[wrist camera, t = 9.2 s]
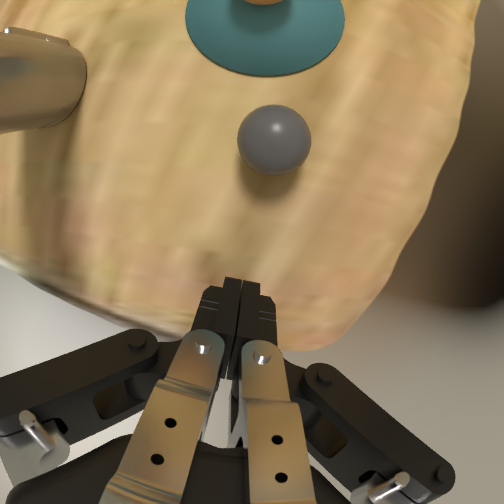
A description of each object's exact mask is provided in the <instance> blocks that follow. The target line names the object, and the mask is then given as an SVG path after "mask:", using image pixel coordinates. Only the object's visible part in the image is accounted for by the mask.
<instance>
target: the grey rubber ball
mask: <svg viewBox="0 0 504 504" xmlns="http://www.w3.org/2000/svg"><path fill="white" fill-rule="evenodd" d="M237 143H238V149H239V152H240V154H241V156H242V158H243V159H244V161H245V162H246V163H247V164H248V165H249V166H250V167H251V168H252V169H254V170H256V171H257V172H259V173H262V174H265V175H271V176H279V175H285V174H288V173H290V172H292V171H294V170H296V169H297V168H298V167H300V166H301V165H302V164H303V162H304V161H305V160H306V158H307V156H308V154H309V152H310V148H311V134H310V130H309V127H308V125H307V123H306V122H305V120H304V119H303V118H302V117H301V116H300V115H299V114H298V113H297V112H296V111H294V110H293V109H290V108H288V107H285V106H282V105H266V106H262V107H259V108H257V109H255V110H254V111H252V112H251V113H250V114H248V115H247V116H246V118H245V119H244V120H243V122H242V123H241V126H240V128H239V131H238V137H237Z"/></svg>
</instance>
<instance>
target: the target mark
mask: <svg viewBox="0 0 504 504" xmlns="http://www.w3.org/2000/svg"><path fill="white" fill-rule="evenodd" d="M185 18H186V26H187V29H188V33H189V35H190V37H191V39H192V41H193V42H194V43H195V45H196V46H197V47H198V48H199V50H200V51H201V52H202V53H203V54H204V55H206V56H207V57H208V58H210V59H211V60H212V61H214V62H216V63H217V64H219V65H221V66H223V67H226V68H228V69H231V70H234V71H237V72H240V73H245V74H250V75H259V76H275V75H284V74H290V73H294V72H297V71H301V70H304V69H306V68H308V67H311V66H313V65H314V64H316V63H318V62H320V61H321V60H322V59H324V58H325V57H326V56H327V55H328V54H329V53H330V52H331V51H332V50H333V49H334V48H335V46H336V45H337V43H338V42H339V40H340V38H341V36H342V33H343V29H344V21H345V18H344V10H343V6H342V3H341V1H340V0H283V1H281V2H278V3H275V4H270V5H257V4H252V3H249V2H246V1H244V0H188V3H187V7H186V15H185Z"/></svg>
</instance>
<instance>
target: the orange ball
mask: <svg viewBox="0 0 504 504" xmlns="http://www.w3.org/2000/svg"><path fill="white" fill-rule="evenodd" d="M244 1H246V2H249V3H252V4H257V5H270V4H275V3H278V2H281V1H283V0H244Z"/></svg>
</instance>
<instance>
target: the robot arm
mask: <svg viewBox="0 0 504 504" xmlns="http://www.w3.org/2000/svg"><path fill="white" fill-rule="evenodd" d="M85 80H86V64H85V60H84V57H83V55H82V54H81V52H80V51H78V50H77V49H75V48H73V47H71V46H69V43H68V40H65V39H62V38H58V37H55V36H51V35H47V34H43V33H39V32H35V31H30V30H26V29H21V28H16V27H8V28H6V29H5V30H4V31H3V32H0V134H4V133H9V132H15V131H21V130H27V129H34V128H43V127H49V126H53V125H56V124H58V123H60V122H62V121H63V120H64V119H65V118H66V117H68V116H69V115H70V113H71V112H72V111H73V109H74V108H75V106H76V105H77V103H78V101H79V99H80V97H81V94H82V92H83V89H84V85H85ZM241 284H242V288H241ZM228 362H229V364H228ZM227 367H228V371H227ZM226 371H227V379H229V380H232V388H231V392H230V396H229V432H228V435H229V436H228V445H227V448H217V447H214V446H212V445H209V444H207V443H204V442H203V438H204V434H205V430H206V427H207V423H208V419H209V415H210V411H211V408H212V404H213V400H214V396H215V393H216V391H217V390H218V387H219V382H220V378H223V379H224V378H225V375H226ZM142 410H144V411H143V413H142V415H141V417H140V419H139V422H138V424H137V426H136V428H135V431H134V433H133V434H128V435H124V436H120V437H118V438H115V439H113V440H111V441H109V442H107V443H105V444H103V445H102V446H100V447H98V448H96V449H94V450H92V451H91V452H88V453H86V454H84V455H82V456H80V457H78V458H76V459H74V460H72V461H70V462H68V463H66V464H64V465H62V466H59V465H60V464H62V463H63V462H65V461H66V459H67V458H68V456H69V452H70V447H69V445H72V444H74V443H76V442H78V441H80V440H83V439H85V438H87V437H89V436H92V435H94V434H96V433H98V432H100V431H102V430H104V429H106V428H108V427H110V426H112V425H114V424H116V423H118V422H120V421H122V420H124V419H126V418H128V417H130V416H132V415H134V414H136V413H138V412H139V411H142ZM307 451H308V452H309V453H310V454H311V455H312V456H313V457H314V458H315V459H316V460H317V461H318V462H319V463H320V464H321V465H322V466H323V467H324V468H325V469H326V470H327V471H328V472H329V473H330V474H331V475H332V476H333V477H335V478H336V479H337V480H338V481H339V482H340V483H341V484H342V485H343V486H344V487H346V488H347V489H348V490H349V491H350V492H351V493H352V494H351V499H350V500H351V501H349V500H347V499H346V498H345V497H344V496H343V495H342V494H341V493H340V492H339V491H338V490H337V489H336V488H335V487H334V486H333V485H332V484H331V483H330V482H329V481H328V480H327V479H326V478H325V477H324V476H323V475H322V474H321V473H320V472H319V471H318V470H316V469H315V468H314V467H313V466H311V465H310V464H309V458H308V452H307ZM0 456H1V459H2V462H3V464H4V467H5V469H6V471H7V473H8V476H9V478H10V480H11V482H12V484H13V486H14V488H13V489H12V490H11V491H10V492H9V494H8V496H7V500H6V504H427V503H429V502H431V501H433V500H435V499H436V498H438V497H440V496H442V495H444V494H446V493H447V492H449V491H450V490H451V489H452V487H453V485H454V483H455V471H454V469H453V467H452V466H451V464H450V463H449V462H447V461H446V460H445V459H444V458H442V457H441V456H440V455H438V454H437V453H436V452H435V451H433V450H432V449H431V448H430V447H428V446H427V445H426V444H424V443H423V442H422V441H421V440H420V439H419V438H417V437H416V436H415V435H414V434H412V433H411V432H410V431H409V430H407V429H406V428H405V427H404V426H403V425H401V424H400V423H399V422H398V421H396V420H395V419H394V418H393V417H392V416H390V415H389V414H388V413H387V412H386V411H385V410H383V409H382V408H381V407H380V406H379V405H378V404H376V403H375V402H374V401H373V400H372V399H371V398H369V397H368V396H367V395H366V394H365V393H363V392H362V391H361V390H360V389H359V388H358V387H356V386H355V385H354V384H353V383H352V382H351V381H350V380H349V379H347V378H346V377H345V376H344V375H343V374H342V373H341V372H339V371H338V370H337V369H336V368H334V367H333V366H331V365H328V364H324V363H315V364H312V365H310V366H309V367H308V368H307V369H304V368H302V367H299V366H296V365H294V364H292V363H290V362H288V361H287V360H285V359H284V358H283V355H282V352H281V351H280V349H279V348H278V346H277V326H276V307H275V304H274V302H273V300H272V299H271V297H268V296H263V295H260V283H256V282H251V281H246V280H243V283H242V280H241V279H235V278H230V277H226V276H225V280H224V284H223V288H221V287H216V286H212V285H211V286H210V287H208V288H207V289H206V290H204V292H203V295H202V298H201V301H200V304H199V307H198V310H197V313H196V316H195V319H194V322H193V325H192V328H191V331H190V332H188V333H187V334H186V335H185V336H184V337H183V339H181V340H178V341H174V342H158V341H157V339H156V337H155V336H154V335H153V334H152V333H150V332H148V331H146V330H143V329H129V330H126V331H124V332H121V333H119V334H116V335H114V336H111V337H108V338H106V339H103V340H101V341H98V342H96V343H93V344H90V345H88V346H85V347H83V348H80V349H77V350H75V351H72V352H70V353H67V354H64V355H61V356H59V357H56V358H53V359H51V360H48V361H45V362H43V363H40V364H37V365H34V366H31V367H29V368H26V369H23V370H20V371H17V372H15V373H12V374H9V375H6V376H4V377H1V378H0ZM58 466H59V467H58Z"/></svg>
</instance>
